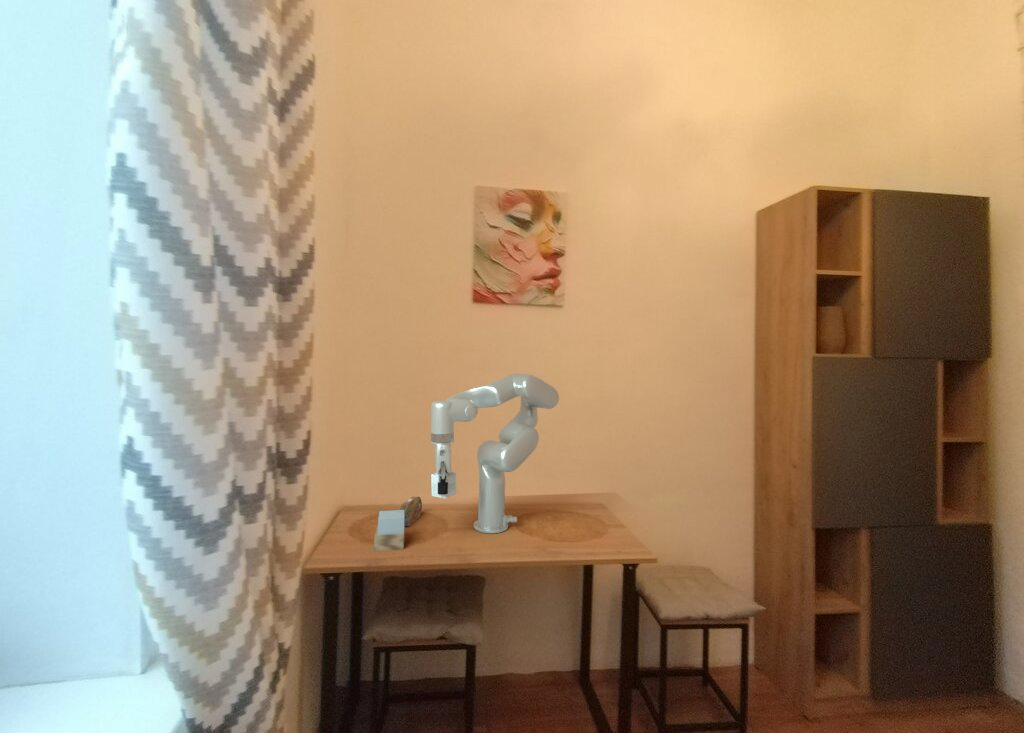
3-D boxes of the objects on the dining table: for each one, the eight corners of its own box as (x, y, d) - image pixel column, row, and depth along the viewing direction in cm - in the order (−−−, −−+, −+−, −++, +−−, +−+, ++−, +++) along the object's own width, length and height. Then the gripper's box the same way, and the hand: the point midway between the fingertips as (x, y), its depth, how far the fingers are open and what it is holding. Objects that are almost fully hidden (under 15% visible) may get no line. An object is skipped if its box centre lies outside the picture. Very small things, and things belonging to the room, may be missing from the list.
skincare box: (456, 494, 149) (456, 472, 149) (445, 499, 144) (445, 476, 144) (442, 491, 152) (442, 470, 152) (430, 496, 147) (430, 474, 147)
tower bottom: (404, 538, 150) (404, 524, 150) (403, 550, 142) (403, 534, 142) (376, 540, 149) (377, 525, 149) (373, 551, 140) (374, 536, 140)
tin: (405, 529, 158) (406, 506, 158) (397, 528, 159) (397, 505, 158) (422, 515, 173) (422, 494, 173) (414, 514, 173) (415, 493, 173)
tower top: (403, 524, 150) (404, 509, 150) (403, 533, 142) (404, 518, 142) (379, 526, 148) (379, 511, 148) (377, 535, 140) (378, 519, 140)
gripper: (455, 443, 140) (455, 497, 140) (452, 433, 157) (451, 481, 157) (431, 443, 138) (431, 499, 139) (430, 433, 155) (430, 482, 156)
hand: (442, 489), depth 148 cm, fingers closed on skincare box, 8 cm apart
